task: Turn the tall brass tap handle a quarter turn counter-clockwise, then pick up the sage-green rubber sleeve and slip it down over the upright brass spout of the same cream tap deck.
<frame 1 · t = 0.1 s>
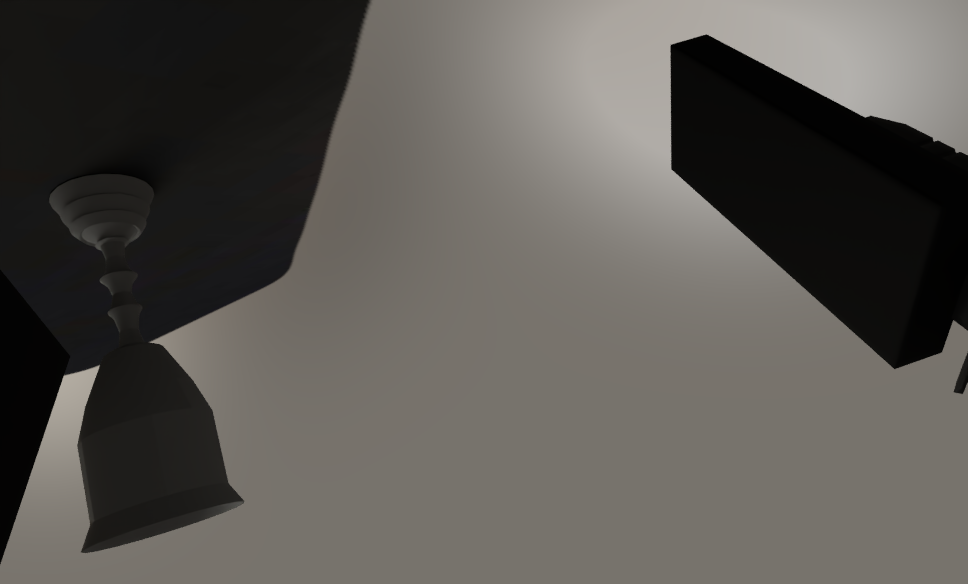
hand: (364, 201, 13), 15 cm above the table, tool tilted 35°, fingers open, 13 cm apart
chalice: (102, 195, 37), on the table
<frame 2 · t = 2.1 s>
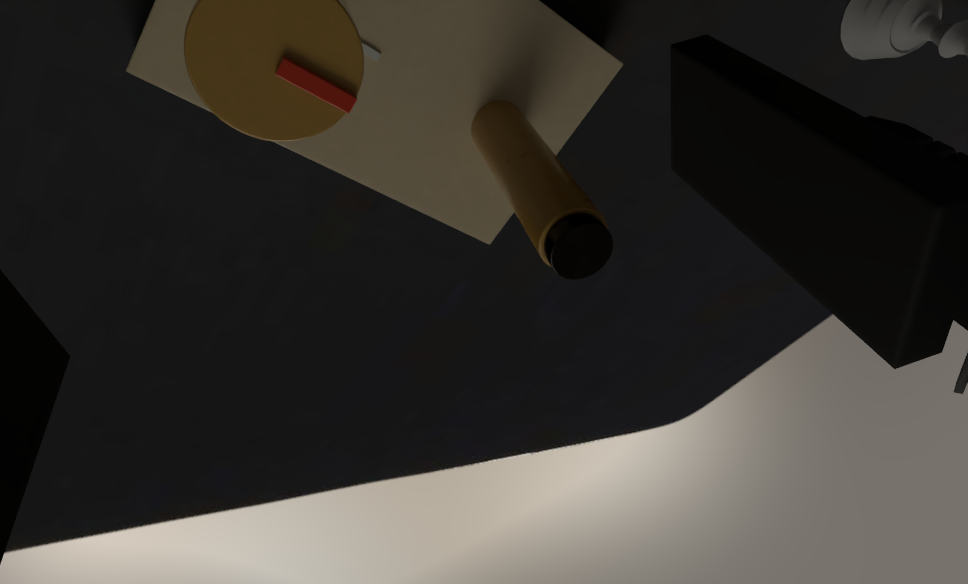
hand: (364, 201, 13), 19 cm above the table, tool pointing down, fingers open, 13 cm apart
tap deck: (388, 49, 30), on the table
chalice: (881, 11, 36), on the table
spout: (484, 107, 33), resting on tap deck
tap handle: (275, 25, 22), point 7 cm above the table, hinge at 0.0°
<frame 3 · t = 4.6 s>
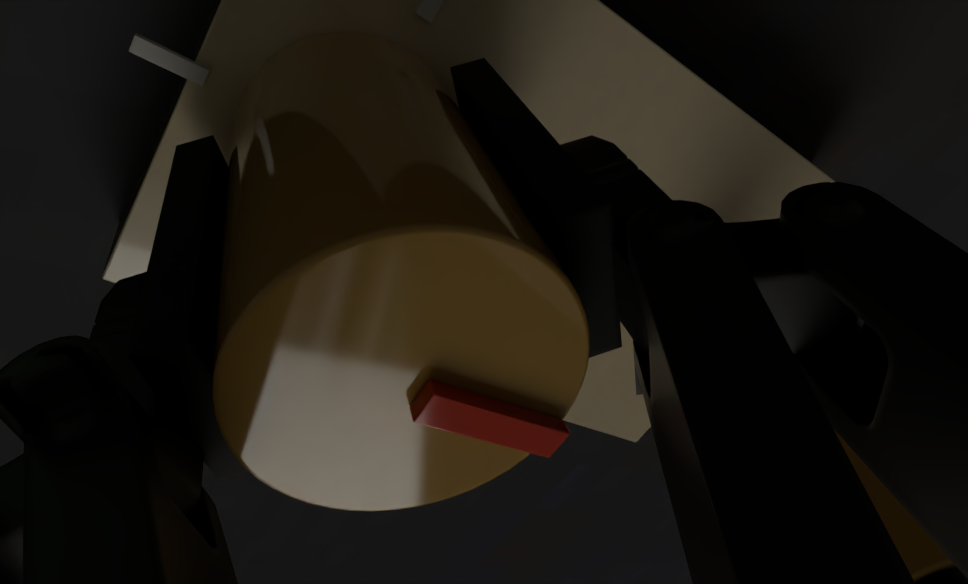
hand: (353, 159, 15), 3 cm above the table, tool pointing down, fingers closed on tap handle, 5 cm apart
tap deck: (508, 192, 20), on the table
spout: (635, 257, 23), resting on tap deck
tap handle: (375, 241, 12), point 7 cm above the table, hinge at 0.0°, touching gripper
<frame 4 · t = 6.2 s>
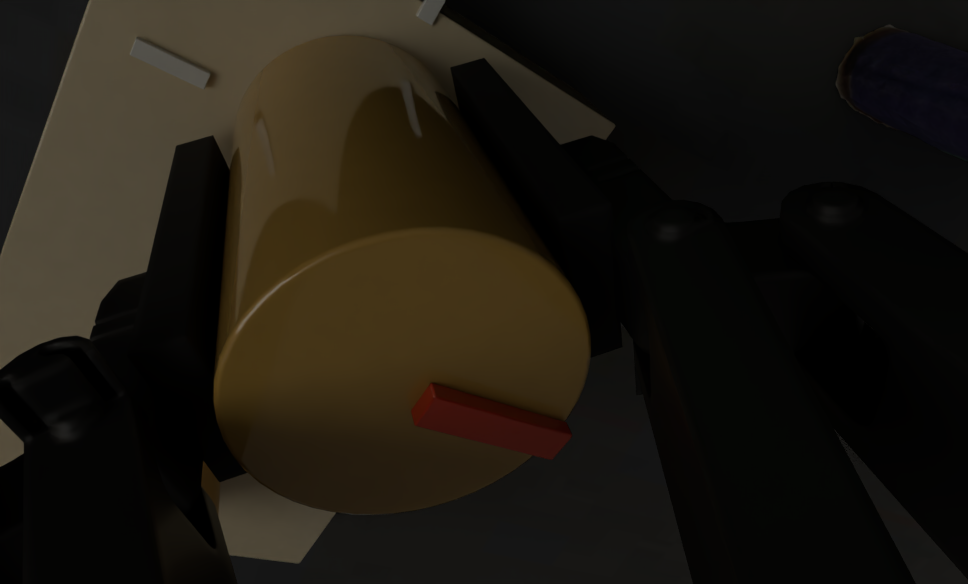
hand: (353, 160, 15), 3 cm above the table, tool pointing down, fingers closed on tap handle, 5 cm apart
tap deck: (251, 273, 19), on the table
spout: (180, 407, 21), resting on tap deck
flask: (935, 88, 22), on the table
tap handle: (376, 244, 12), point 7 cm above the table, hinge at 90.5°, touching gripper
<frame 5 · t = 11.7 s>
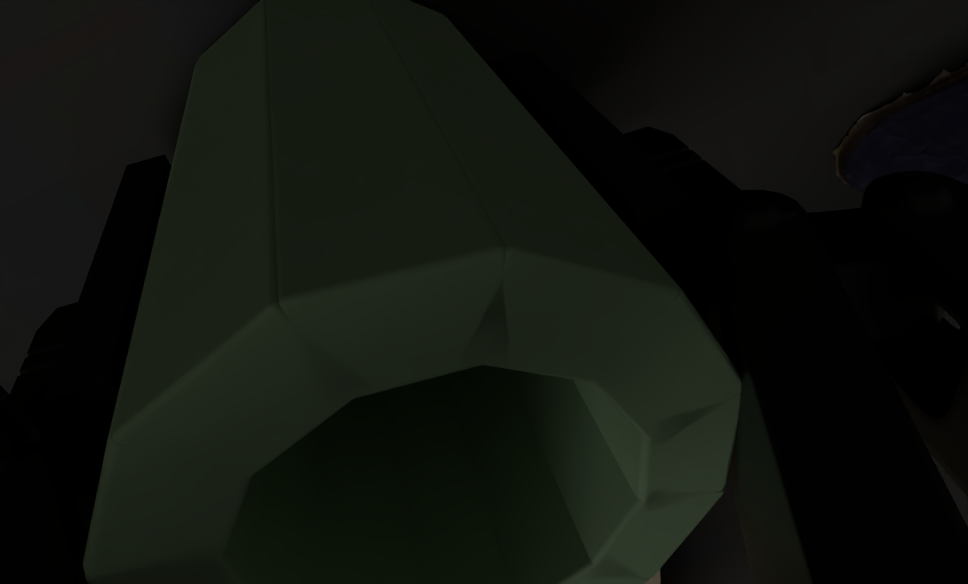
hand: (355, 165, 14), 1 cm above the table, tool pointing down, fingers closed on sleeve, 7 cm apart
sleeve: (351, 149, 15), on the table, touching gripper
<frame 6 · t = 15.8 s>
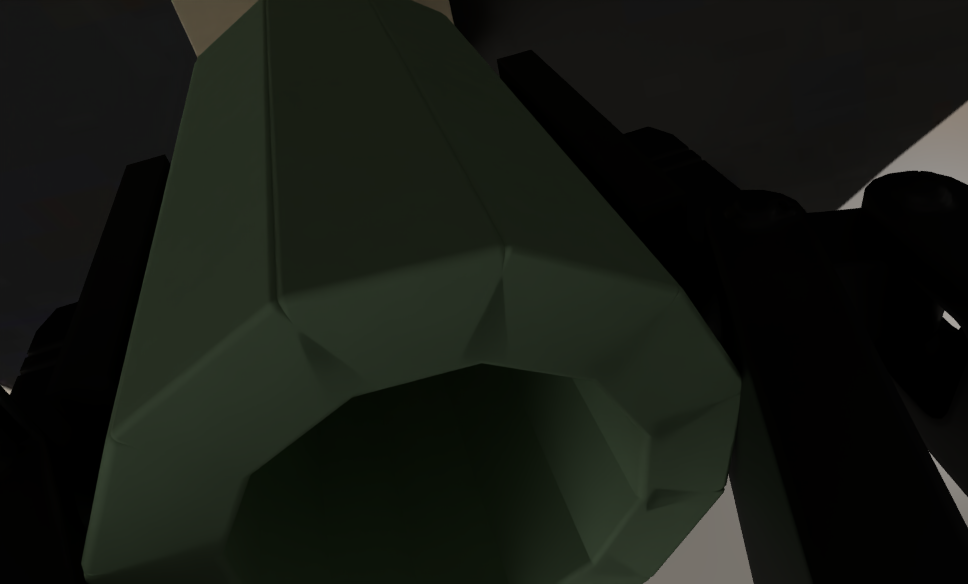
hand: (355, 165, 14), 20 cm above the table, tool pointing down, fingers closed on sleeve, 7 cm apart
sleeve: (350, 148, 15), point 19 cm above the table, touching gripper
when the fingers open (3 cm above the table, at t = 19.9 s): sleeve stays where it is, resting on tap deck.
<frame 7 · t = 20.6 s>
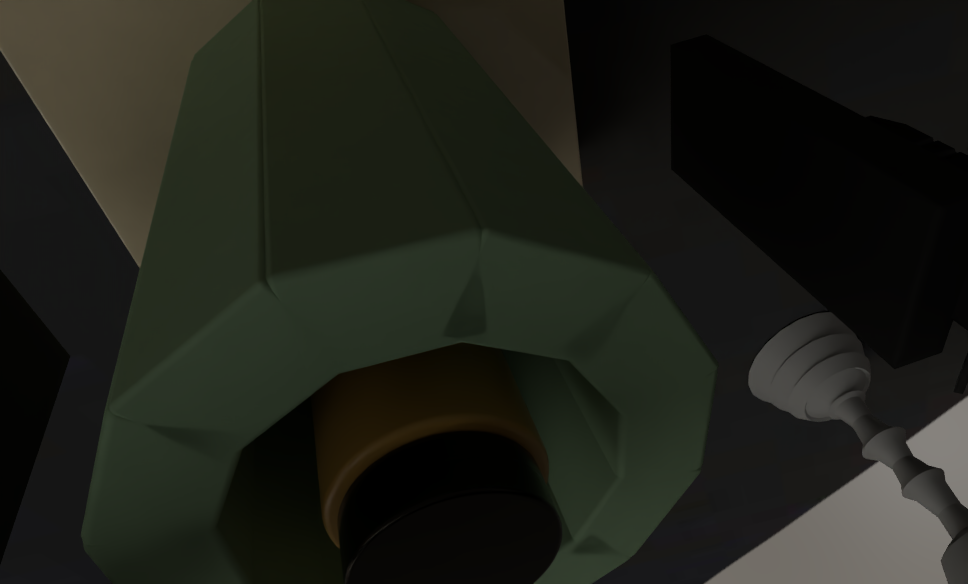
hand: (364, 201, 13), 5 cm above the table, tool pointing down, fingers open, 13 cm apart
chalice: (799, 356, 29), on the table
spout: (336, 104, 17), resting on tap deck
sleeve: (344, 144, 15), point 2 cm above the table, touching tap deck
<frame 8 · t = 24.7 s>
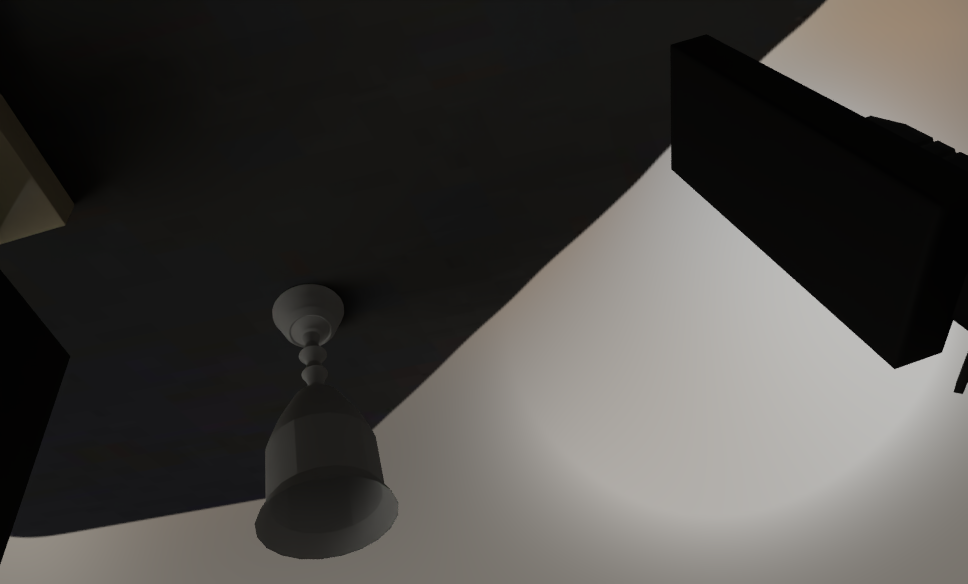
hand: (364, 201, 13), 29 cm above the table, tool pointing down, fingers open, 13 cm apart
chalice: (308, 310, 49), on the table
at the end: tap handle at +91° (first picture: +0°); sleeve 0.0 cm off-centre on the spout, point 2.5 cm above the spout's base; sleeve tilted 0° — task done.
